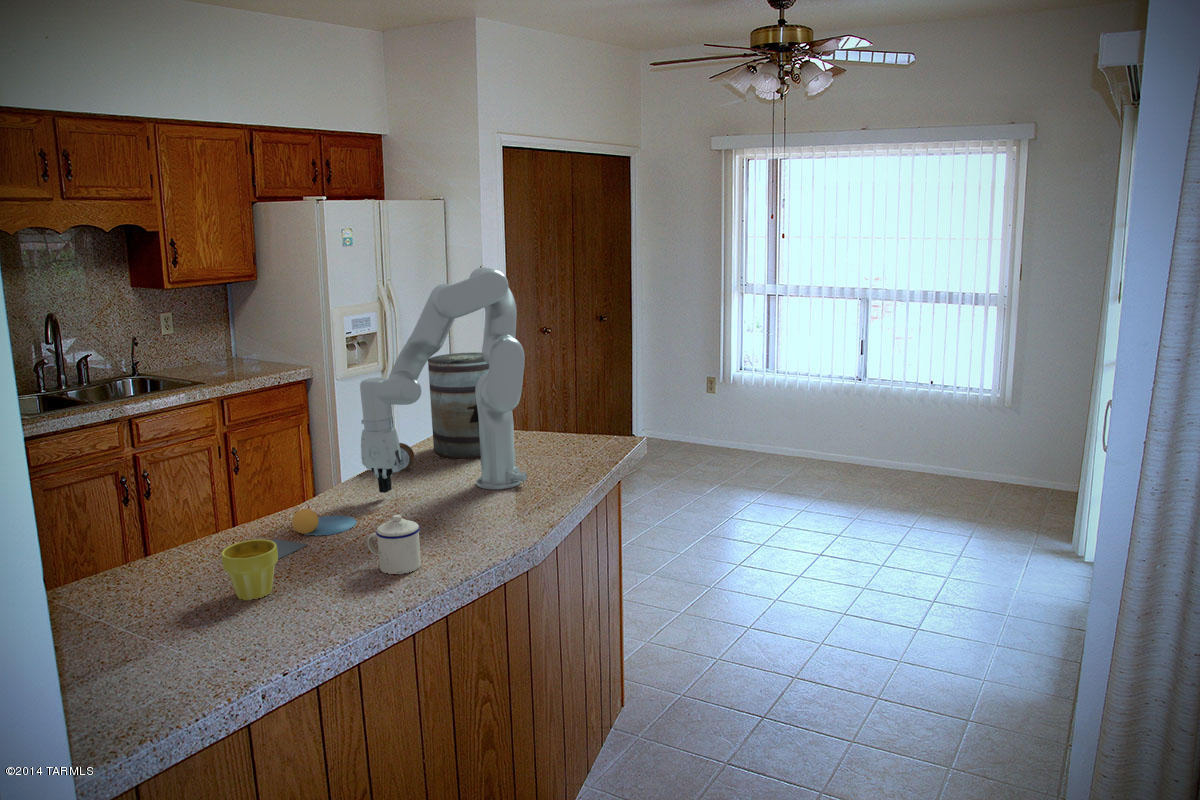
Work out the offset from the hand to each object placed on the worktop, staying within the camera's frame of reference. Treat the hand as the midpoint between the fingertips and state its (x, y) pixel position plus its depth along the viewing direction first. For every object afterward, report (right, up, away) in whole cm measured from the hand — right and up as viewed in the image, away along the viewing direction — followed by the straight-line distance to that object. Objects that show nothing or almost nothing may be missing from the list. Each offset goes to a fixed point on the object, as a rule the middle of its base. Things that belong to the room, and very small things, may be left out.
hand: (385, 491), depth 236 cm
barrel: (+15, +8, +48) cm, 51 cm away
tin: (-5, +3, +27) cm, 28 cm away
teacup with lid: (+13, -12, -46) cm, 49 cm away
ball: (-13, -5, -25) cm, 28 cm away
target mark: (-10, -7, -19) cm, 23 cm away
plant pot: (-12, -15, -58) cm, 61 cm away
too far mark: (-17, -10, -34) cm, 40 cm away
